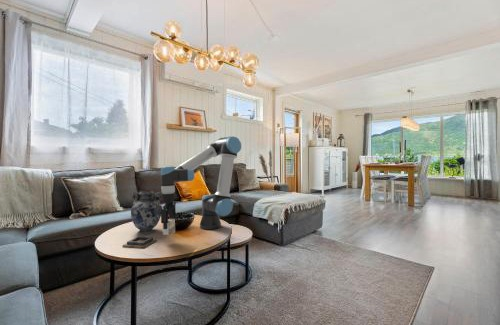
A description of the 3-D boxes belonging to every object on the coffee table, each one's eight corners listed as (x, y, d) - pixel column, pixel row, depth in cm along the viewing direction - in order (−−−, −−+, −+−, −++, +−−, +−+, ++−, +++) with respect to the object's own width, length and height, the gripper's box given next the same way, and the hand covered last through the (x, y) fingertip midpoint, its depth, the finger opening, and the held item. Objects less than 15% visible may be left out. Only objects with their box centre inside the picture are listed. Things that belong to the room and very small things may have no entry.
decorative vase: (167, 229, 168) (167, 189, 168) (154, 237, 150) (154, 192, 150) (138, 228, 170) (139, 189, 170) (122, 236, 152) (122, 192, 152)
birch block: (175, 232, 141) (174, 218, 141) (170, 234, 136) (170, 220, 136) (167, 231, 142) (167, 218, 142) (162, 234, 137) (162, 220, 137)
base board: (157, 240, 143) (157, 236, 143) (143, 248, 130) (143, 243, 130) (137, 239, 145) (137, 235, 145) (122, 247, 132) (122, 242, 132)
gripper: (170, 190, 149) (170, 228, 149) (153, 195, 131) (154, 237, 131) (181, 190, 147) (182, 228, 148) (166, 195, 130) (166, 238, 130)
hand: (169, 232), depth 139 cm, fingers closed on birch block, 5 cm apart
